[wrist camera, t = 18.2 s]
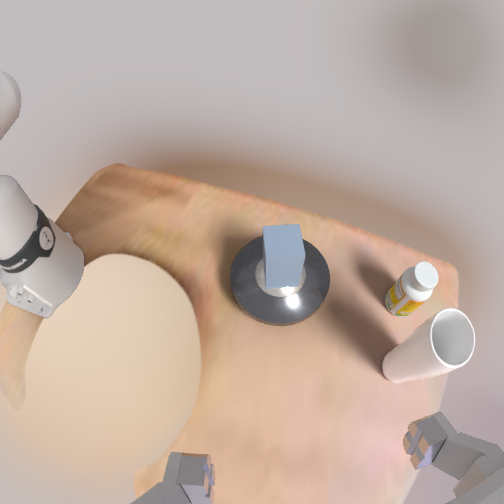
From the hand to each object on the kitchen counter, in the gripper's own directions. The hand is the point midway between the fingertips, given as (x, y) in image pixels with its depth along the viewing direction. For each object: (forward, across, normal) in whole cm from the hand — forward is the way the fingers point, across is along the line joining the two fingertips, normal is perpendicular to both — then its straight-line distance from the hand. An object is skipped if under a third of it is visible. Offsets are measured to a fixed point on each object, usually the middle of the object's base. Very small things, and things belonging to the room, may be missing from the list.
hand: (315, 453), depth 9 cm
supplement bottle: (+30, -21, +9) cm, 38 cm away
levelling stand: (+34, -2, +5) cm, 34 cm away
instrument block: (+31, -2, +2) cm, 31 cm away
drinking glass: (+23, -18, +16) cm, 33 cm away
